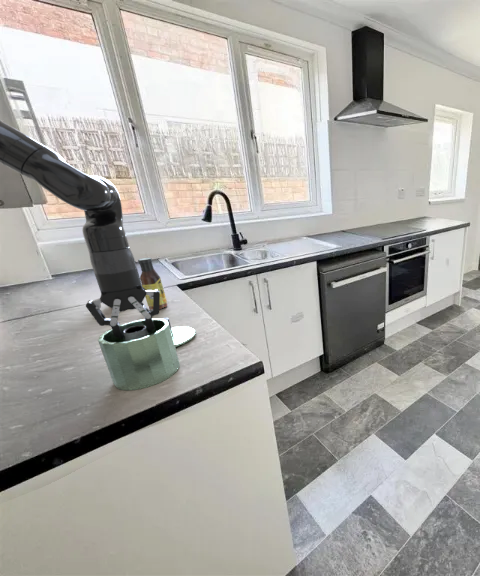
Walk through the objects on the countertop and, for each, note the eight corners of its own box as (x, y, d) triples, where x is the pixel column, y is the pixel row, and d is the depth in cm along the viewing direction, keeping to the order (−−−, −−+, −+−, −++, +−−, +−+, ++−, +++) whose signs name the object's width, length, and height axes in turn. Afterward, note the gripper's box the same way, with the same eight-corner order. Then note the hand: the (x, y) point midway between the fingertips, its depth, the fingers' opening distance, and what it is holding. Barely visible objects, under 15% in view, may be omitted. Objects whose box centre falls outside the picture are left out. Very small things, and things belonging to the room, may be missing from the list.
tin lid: (138, 358, 86) (131, 335, 84) (139, 338, 98) (133, 317, 95) (198, 342, 95) (193, 321, 92) (193, 325, 106) (188, 306, 104)
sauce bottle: (169, 307, 122) (156, 258, 115) (150, 312, 118) (135, 261, 111) (166, 303, 126) (153, 256, 120) (147, 307, 122) (133, 259, 116)
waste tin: (112, 398, 71) (94, 350, 67) (117, 370, 81) (102, 327, 77) (181, 376, 78) (169, 332, 74) (177, 354, 89) (167, 314, 84)
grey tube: (132, 372, 76) (121, 334, 72) (134, 364, 79) (124, 327, 76) (155, 366, 78) (145, 330, 75) (156, 358, 82) (146, 323, 78)
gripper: (69, 277, 63) (95, 350, 69) (154, 266, 71) (171, 332, 77) (76, 270, 69) (100, 337, 75) (153, 260, 77) (170, 321, 83)
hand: (136, 334), depth 76 cm, fingers open, 5 cm apart
